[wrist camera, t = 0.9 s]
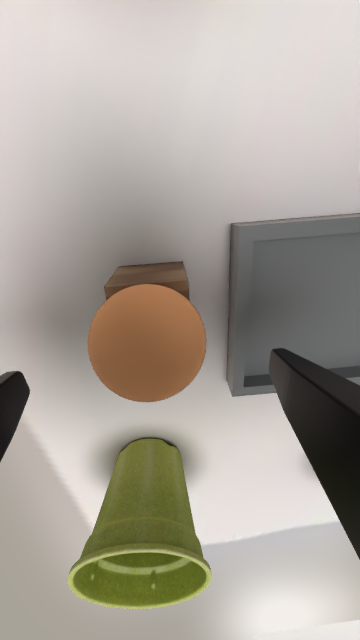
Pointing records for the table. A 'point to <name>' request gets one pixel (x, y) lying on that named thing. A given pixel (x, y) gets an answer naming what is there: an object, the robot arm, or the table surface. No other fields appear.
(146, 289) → the ball
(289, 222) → the tray
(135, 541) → the plant pot
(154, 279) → the brown wooden open cube
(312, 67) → the table surface
